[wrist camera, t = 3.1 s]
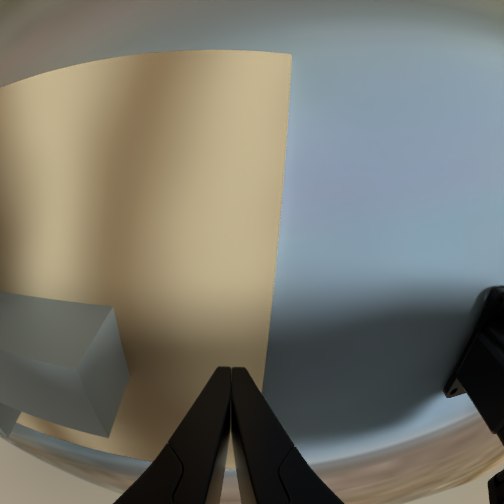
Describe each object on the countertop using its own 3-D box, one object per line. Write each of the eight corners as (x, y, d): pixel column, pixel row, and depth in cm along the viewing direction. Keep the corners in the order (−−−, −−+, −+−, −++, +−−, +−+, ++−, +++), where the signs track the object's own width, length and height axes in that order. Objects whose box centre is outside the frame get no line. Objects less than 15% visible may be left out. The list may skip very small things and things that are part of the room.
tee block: (99, 201, 8) (38, 239, 5) (145, 425, 11) (133, 479, 9) (-69, 211, 7) (-113, 235, 4) (-8, 382, 11) (-30, 416, 8)
